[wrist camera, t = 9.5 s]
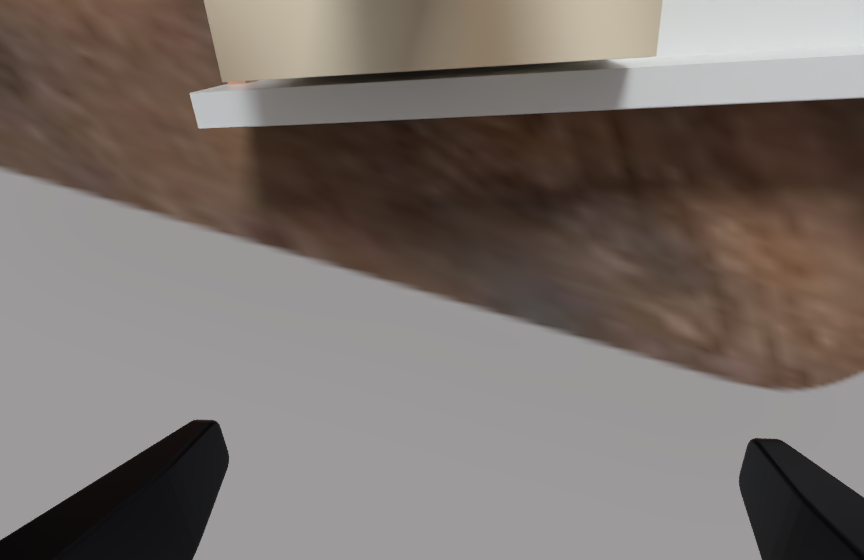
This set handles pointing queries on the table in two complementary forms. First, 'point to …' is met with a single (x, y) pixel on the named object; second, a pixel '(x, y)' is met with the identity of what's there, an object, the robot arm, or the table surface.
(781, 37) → the bay
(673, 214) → the table surface
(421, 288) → the table surface
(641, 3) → the beige knobbed block
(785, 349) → the table surface
